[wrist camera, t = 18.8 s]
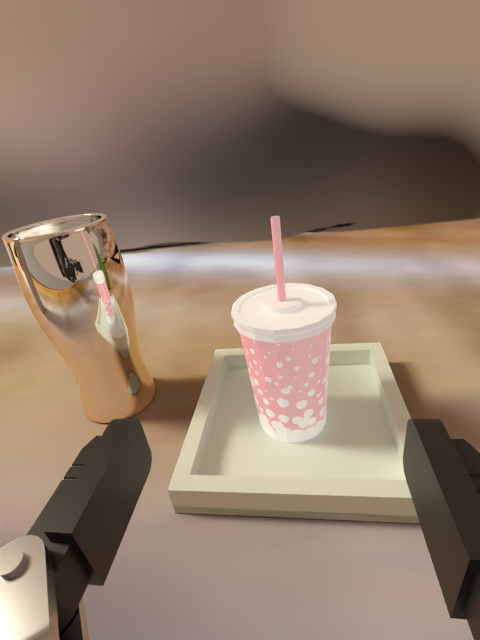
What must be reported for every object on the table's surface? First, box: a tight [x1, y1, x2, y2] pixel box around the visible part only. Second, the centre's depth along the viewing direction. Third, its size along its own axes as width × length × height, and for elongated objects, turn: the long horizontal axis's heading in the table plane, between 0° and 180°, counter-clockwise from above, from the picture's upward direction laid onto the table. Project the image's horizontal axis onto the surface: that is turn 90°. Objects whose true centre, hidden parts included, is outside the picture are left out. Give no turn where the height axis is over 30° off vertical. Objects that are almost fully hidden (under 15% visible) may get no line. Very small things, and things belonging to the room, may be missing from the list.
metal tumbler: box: [2, 213, 156, 423], centre depth 27 cm, size 7×7×15 cm
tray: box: [168, 342, 420, 523], centre depth 25 cm, size 14×14×2 cm
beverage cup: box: [231, 216, 337, 443], centre depth 21 cm, size 6×6×14 cm
